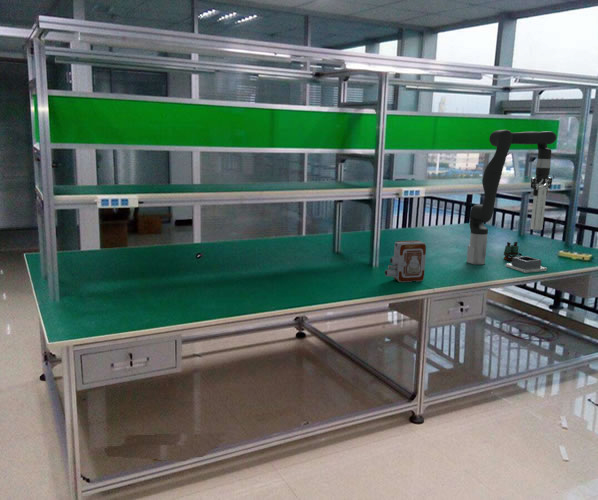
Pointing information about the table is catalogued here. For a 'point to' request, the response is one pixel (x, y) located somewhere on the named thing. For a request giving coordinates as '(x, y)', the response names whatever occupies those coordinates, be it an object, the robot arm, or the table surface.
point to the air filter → (538, 209)
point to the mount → (526, 264)
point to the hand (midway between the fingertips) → (539, 195)
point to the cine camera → (408, 261)
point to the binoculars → (511, 251)
